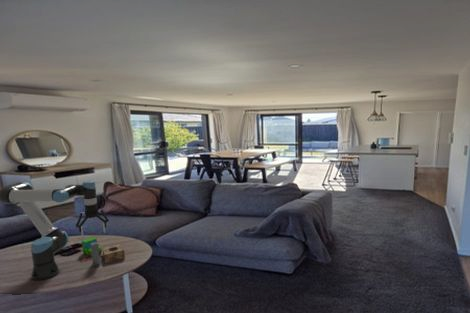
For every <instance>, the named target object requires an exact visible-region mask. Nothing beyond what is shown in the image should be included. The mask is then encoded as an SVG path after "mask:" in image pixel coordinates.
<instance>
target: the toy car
mask: <svg viewBox="0 0 470 313" xmlns="http://www.w3.org/2000/svg"><path fill="white" fill-rule="evenodd" d="M94 242H98V240H97V238H95V237H93V236H92V237H89V238H86V239H83V240H81V245H82V247H81V248H82V253H83V254H84V255H88V257H92V252H91V243H94ZM98 247H99V254H100V253H103V249H102V246H100V244H99V243H98Z"/></svg>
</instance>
